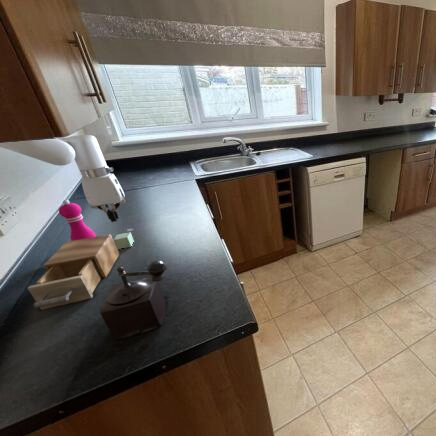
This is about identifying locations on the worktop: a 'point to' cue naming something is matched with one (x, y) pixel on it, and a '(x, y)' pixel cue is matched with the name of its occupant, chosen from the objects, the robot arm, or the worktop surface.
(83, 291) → the drawer
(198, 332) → the worktop surface
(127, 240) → the block
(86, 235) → the pepper mill
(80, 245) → the cabinet
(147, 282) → the manual coffee grinder
